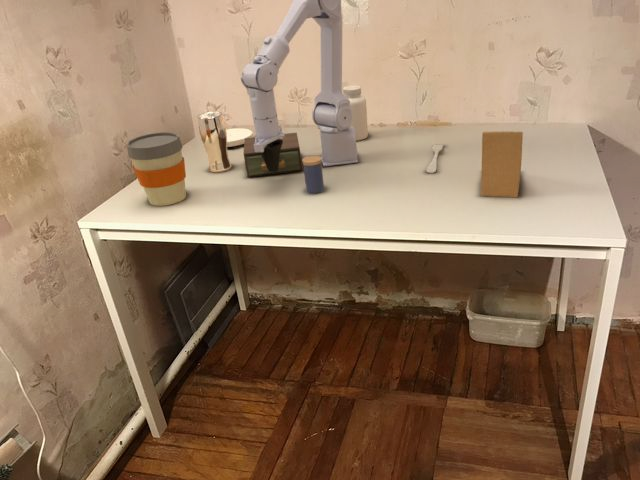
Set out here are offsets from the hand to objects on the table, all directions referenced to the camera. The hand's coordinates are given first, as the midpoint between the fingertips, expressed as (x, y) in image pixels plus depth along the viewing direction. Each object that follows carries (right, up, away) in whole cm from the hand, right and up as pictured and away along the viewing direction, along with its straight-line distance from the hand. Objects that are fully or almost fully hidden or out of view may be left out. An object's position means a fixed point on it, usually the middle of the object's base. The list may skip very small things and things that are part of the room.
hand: (273, 170), depth 144 cm
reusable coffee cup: (-27, -7, +1) cm, 27 cm away
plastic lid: (-19, +15, +37) cm, 45 cm away
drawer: (-2, +3, +12) cm, 13 cm away
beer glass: (-17, +3, +17) cm, 25 cm away
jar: (+10, -5, -1) cm, 12 cm away
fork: (+42, +5, +12) cm, 44 cm away
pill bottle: (+20, +16, +33) cm, 42 cm away
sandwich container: (+55, -4, -6) cm, 55 cm away
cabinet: (-2, +4, +16) cm, 17 cm away
